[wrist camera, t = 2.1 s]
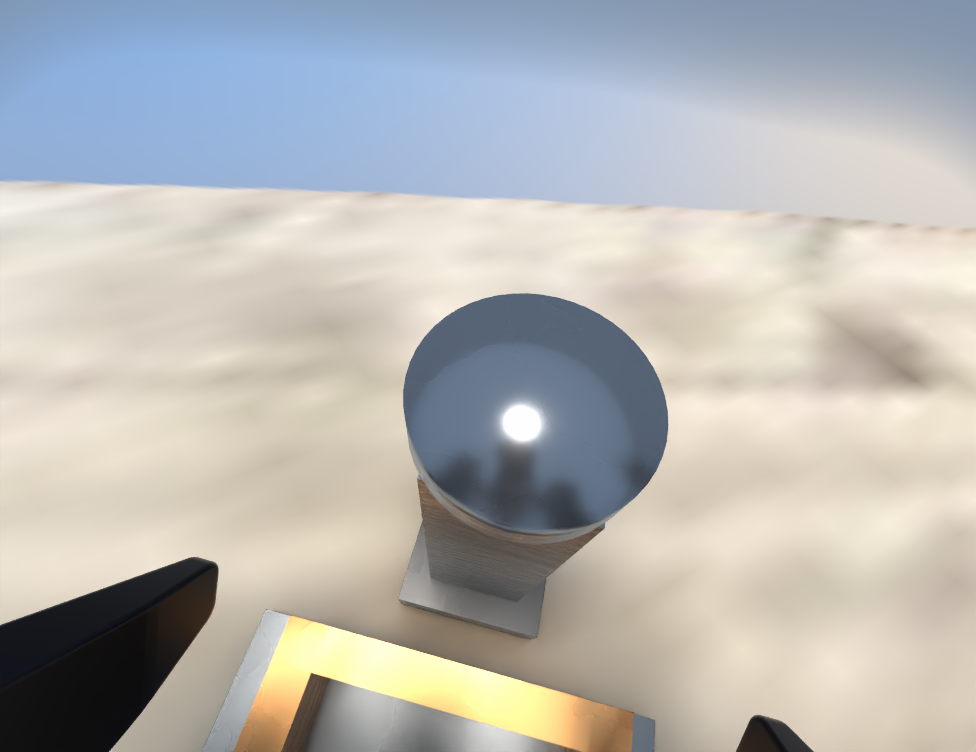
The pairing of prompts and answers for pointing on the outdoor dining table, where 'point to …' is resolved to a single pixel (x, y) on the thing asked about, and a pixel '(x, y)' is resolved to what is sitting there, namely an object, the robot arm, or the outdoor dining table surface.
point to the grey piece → (521, 450)
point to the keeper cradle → (399, 702)
